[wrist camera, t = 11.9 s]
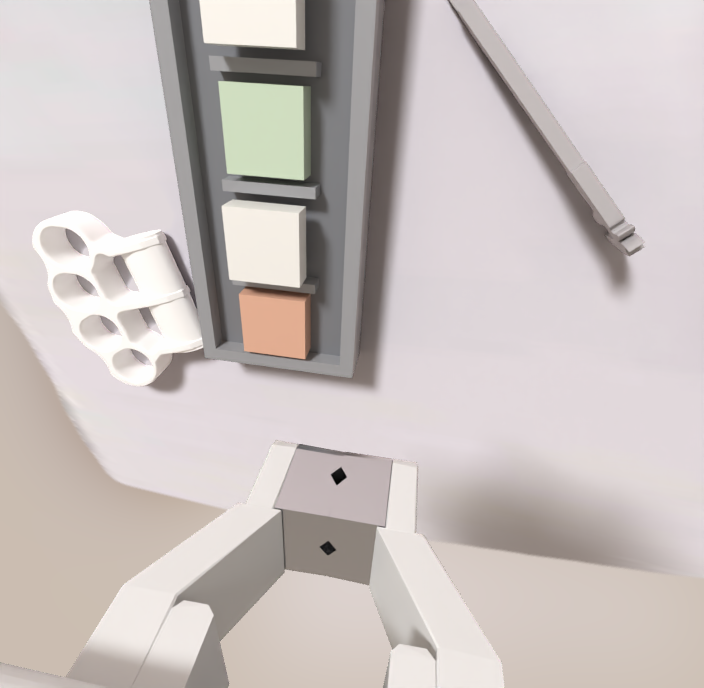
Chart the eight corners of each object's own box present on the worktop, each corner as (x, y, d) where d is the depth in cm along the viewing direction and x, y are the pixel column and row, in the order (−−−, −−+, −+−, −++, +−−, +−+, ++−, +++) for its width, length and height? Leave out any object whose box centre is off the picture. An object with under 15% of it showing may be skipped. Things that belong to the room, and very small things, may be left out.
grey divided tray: (391, -94, 25) (384, -126, 22) (359, 353, 42) (352, 380, 39) (171, -98, 27) (129, -128, 23) (224, 335, 44) (205, 359, 40)
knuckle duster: (228, 360, 46) (117, 374, 50) (152, 190, 37) (25, 222, 41) (215, 378, 43) (98, 392, 47) (130, 198, 35) (-5, 232, 38)
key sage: (310, 86, 28) (303, 86, 27) (310, 175, 31) (303, 180, 30) (230, 81, 29) (218, 80, 27) (237, 168, 32) (227, 173, 30)
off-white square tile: (305, 206, 31) (298, 213, 29) (306, 277, 34) (299, 287, 32) (232, 199, 32) (221, 205, 30) (239, 270, 35) (229, 279, 33)
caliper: (620, 230, 33) (657, 258, 28) (605, 239, 33) (639, 268, 28) (458, -18, 27) (466, -45, 22) (444, -2, 28) (447, -24, 22)
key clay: (310, 291, 36) (304, 302, 35) (310, 347, 39) (305, 359, 38) (247, 284, 37) (238, 294, 35) (252, 339, 40) (244, 351, 38)
